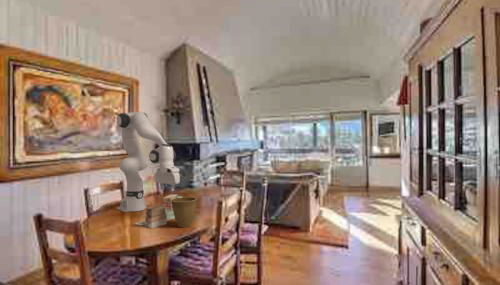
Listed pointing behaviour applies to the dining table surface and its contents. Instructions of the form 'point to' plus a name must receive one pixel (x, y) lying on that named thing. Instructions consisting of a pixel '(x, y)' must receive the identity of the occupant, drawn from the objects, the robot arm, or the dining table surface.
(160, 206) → the brick walnut
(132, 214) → the dining table surface
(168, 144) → the robot arm
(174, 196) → the stack of blocks
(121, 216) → the dining table surface
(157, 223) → the base brick
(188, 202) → the plant pot
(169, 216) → the brick sage
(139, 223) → the page
